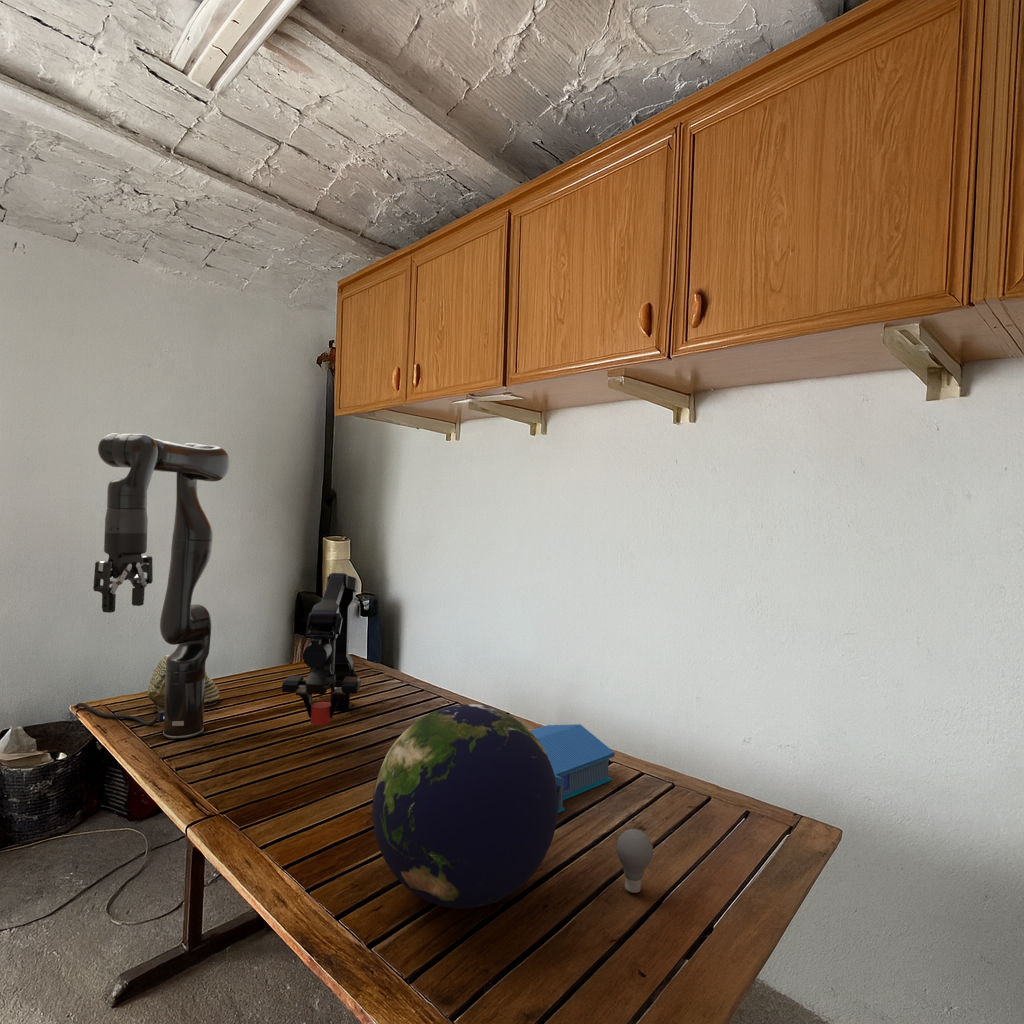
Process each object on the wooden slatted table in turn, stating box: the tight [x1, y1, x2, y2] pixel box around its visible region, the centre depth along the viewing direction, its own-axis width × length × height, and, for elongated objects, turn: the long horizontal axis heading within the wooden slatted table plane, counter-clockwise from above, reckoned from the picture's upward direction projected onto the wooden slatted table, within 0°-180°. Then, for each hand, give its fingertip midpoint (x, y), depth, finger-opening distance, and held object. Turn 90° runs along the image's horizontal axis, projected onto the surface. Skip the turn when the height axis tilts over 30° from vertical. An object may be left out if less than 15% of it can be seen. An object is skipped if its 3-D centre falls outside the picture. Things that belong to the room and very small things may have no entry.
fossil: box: [147, 654, 221, 711], centre depth 185 cm, size 9×18×15 cm, turn 132°
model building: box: [529, 723, 615, 814], centre depth 141 cm, size 39×24×10 cm, turn 132°
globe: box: [371, 703, 559, 910], centre depth 103 cm, size 30×30×30 cm
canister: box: [310, 701, 332, 726], centre depth 163 cm, size 5×5×4 cm
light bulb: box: [615, 828, 654, 894], centre depth 106 cm, size 6×6×10 cm
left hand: (123, 608), depth 131 cm, fingers open, 8 cm apart
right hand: (320, 717), depth 163 cm, fingers closed on canister, 5 cm apart
